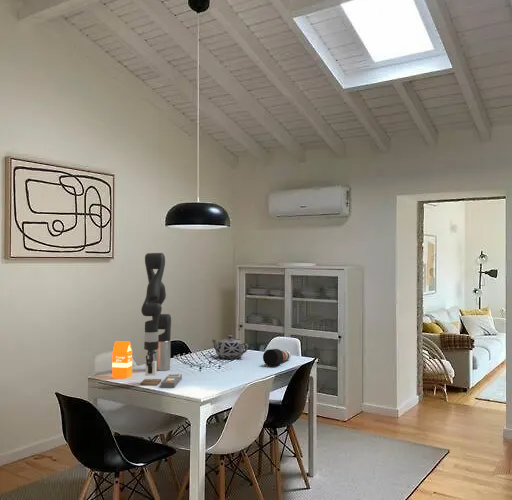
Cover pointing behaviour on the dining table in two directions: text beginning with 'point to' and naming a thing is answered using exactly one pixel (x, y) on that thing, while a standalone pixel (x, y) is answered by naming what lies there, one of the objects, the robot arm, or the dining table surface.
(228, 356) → the teapot
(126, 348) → the orange juice
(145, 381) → the walnut board
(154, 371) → the plug
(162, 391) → the dining table surface
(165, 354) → the robot arm
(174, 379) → the grey panel with rod
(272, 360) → the dark cylindrical piece
